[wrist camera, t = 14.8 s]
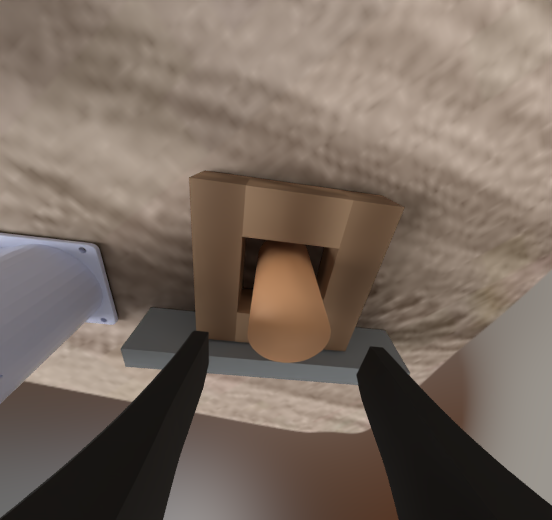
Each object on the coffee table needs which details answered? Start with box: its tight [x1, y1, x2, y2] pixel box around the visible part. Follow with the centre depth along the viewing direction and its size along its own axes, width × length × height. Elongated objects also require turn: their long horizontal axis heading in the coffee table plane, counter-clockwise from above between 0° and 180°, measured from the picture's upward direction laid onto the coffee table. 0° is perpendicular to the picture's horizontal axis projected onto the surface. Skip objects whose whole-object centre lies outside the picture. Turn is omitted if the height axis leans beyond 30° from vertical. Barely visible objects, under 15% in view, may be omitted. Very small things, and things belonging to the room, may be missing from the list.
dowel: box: [247, 240, 331, 363], centre depth 14 cm, size 4×4×8 cm
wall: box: [121, 307, 410, 385], centre depth 19 cm, size 22×2×4 cm, turn 82°
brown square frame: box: [189, 171, 405, 351], centre depth 16 cm, size 12×12×3 cm
